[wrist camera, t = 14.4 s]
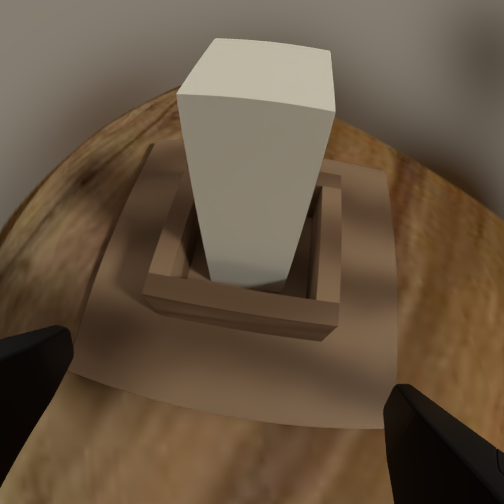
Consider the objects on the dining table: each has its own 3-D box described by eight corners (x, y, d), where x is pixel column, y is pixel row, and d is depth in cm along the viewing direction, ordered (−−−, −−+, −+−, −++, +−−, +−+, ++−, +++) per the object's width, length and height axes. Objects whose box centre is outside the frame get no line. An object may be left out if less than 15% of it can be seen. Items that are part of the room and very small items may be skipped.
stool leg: (282, 292, 19) (335, 112, 8) (211, 281, 19) (176, 94, 8) (289, 232, 21) (330, 50, 10) (225, 222, 21) (215, 38, 10)
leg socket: (385, 428, 16) (421, 429, 12) (75, 373, 17) (37, 360, 13) (381, 179, 25) (399, 142, 21) (159, 147, 26) (150, 108, 22)
